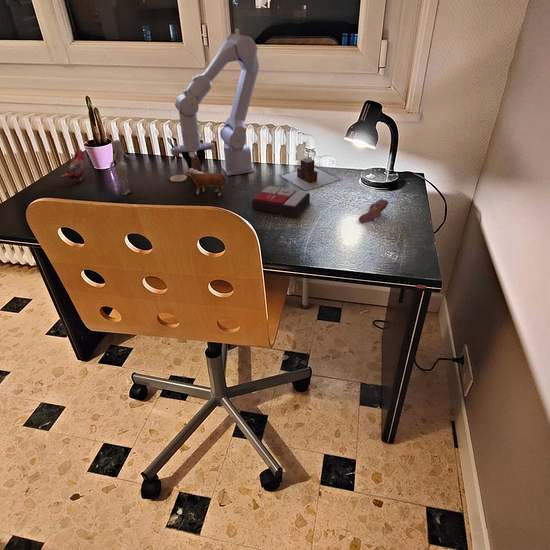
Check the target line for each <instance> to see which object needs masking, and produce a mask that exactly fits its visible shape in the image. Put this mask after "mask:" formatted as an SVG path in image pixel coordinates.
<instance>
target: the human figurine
mask: <svg viewBox="0 0 550 550" xmlns="http://www.w3.org/2000/svg"><path fill="white" fill-rule="evenodd" d="M110 145H111V146H112V149H113V153H112V161H111V162H110V165H109V168H108V170H107V174H112V168H113V166H114V164H116V165H115V168H114V170H115V173H116V175H117V176H118V178H119V179H120V180H119V181H120V183H121V187H122V190H123V192H121V195H124V196H126V195H128V194H130V193H131V190H130V188H129V187H130V184H129V181H128V178H127V177H128V165H127V163H126V162H124V161H123V160H122V159H123V158H124V156H125V158H127V159H129V160H131V161H132V162H136V160H135V159H133V158H132V157H130V155H129V154H126V153H125V152H124V150H123V148H122V147H123V146H122V143H121V141H120V139H115V140H111V141H110ZM115 162H116V163H115Z"/></svg>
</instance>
